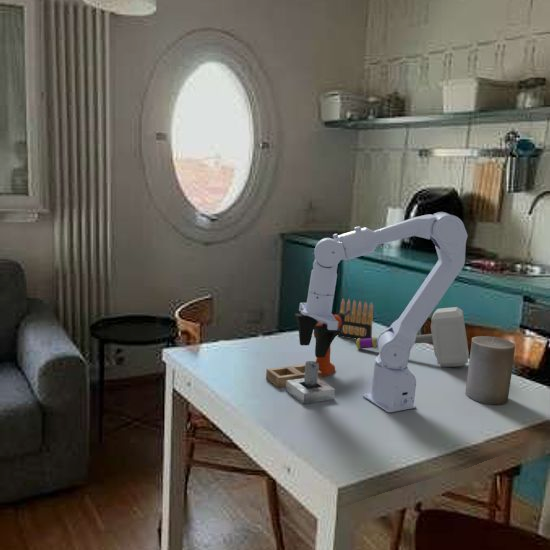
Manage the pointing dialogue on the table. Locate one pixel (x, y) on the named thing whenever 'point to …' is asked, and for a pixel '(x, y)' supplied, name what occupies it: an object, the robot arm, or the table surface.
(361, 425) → the table surface
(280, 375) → the rack
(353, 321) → the ammunition clip
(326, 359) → the toy drill
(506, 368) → the pillar candle
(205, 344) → the table surface
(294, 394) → the socket block
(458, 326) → the hammer
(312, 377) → the grey metal cylinder
